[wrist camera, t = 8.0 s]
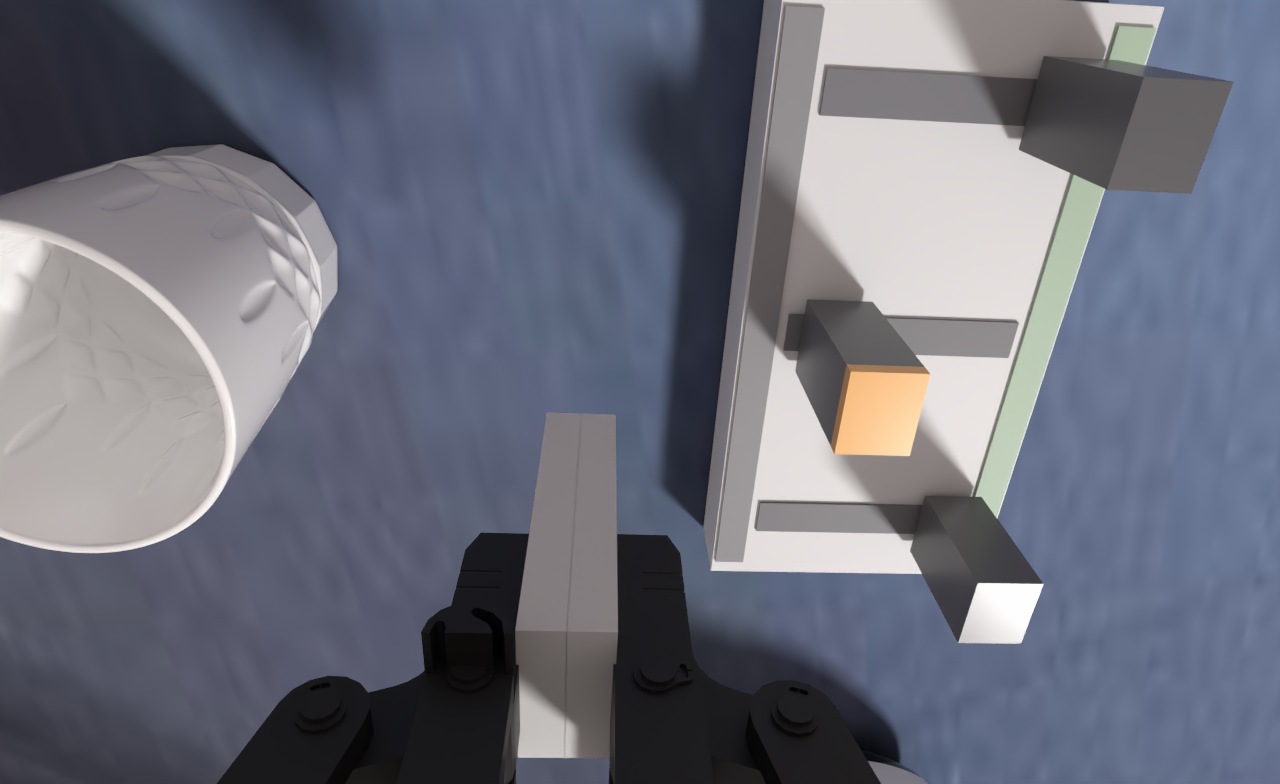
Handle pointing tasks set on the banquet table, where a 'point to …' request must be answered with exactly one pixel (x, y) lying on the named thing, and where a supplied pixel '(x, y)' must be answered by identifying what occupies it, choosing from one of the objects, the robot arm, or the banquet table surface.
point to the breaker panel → (896, 260)
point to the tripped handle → (860, 378)
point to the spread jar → (891, 770)
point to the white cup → (147, 338)
